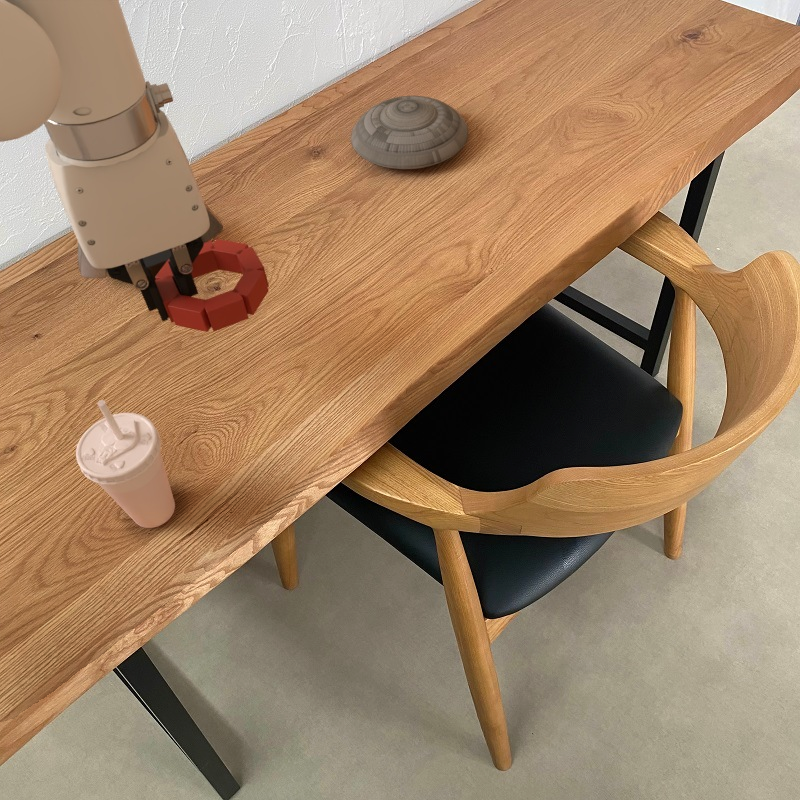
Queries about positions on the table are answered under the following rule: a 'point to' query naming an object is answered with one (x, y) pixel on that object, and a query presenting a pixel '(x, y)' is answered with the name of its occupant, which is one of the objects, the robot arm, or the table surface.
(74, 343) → the table surface
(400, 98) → the flying saucer
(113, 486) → the smoothie
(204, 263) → the ring top
